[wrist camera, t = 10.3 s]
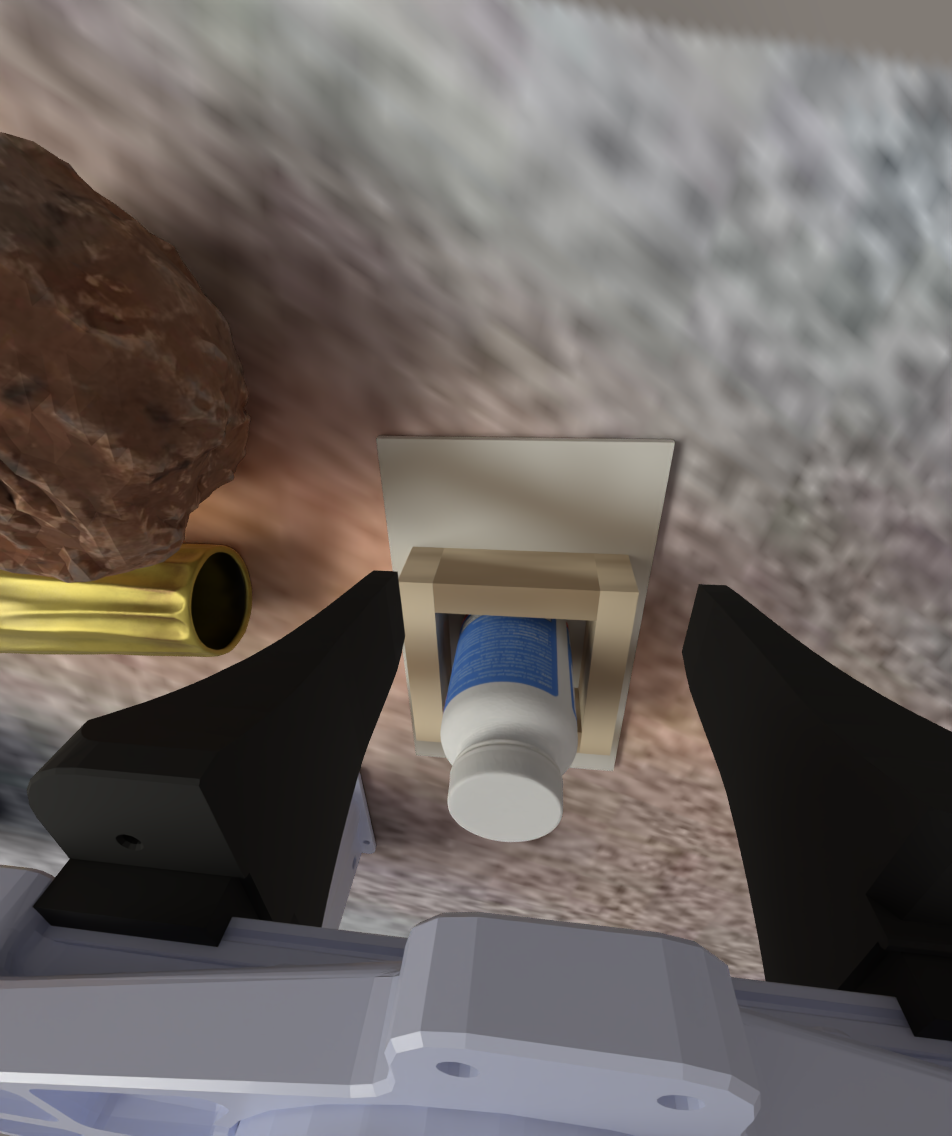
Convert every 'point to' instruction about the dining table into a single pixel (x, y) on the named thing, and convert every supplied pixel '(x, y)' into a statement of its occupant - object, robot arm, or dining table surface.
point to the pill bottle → (510, 726)
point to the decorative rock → (102, 381)
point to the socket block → (524, 559)
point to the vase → (132, 608)
